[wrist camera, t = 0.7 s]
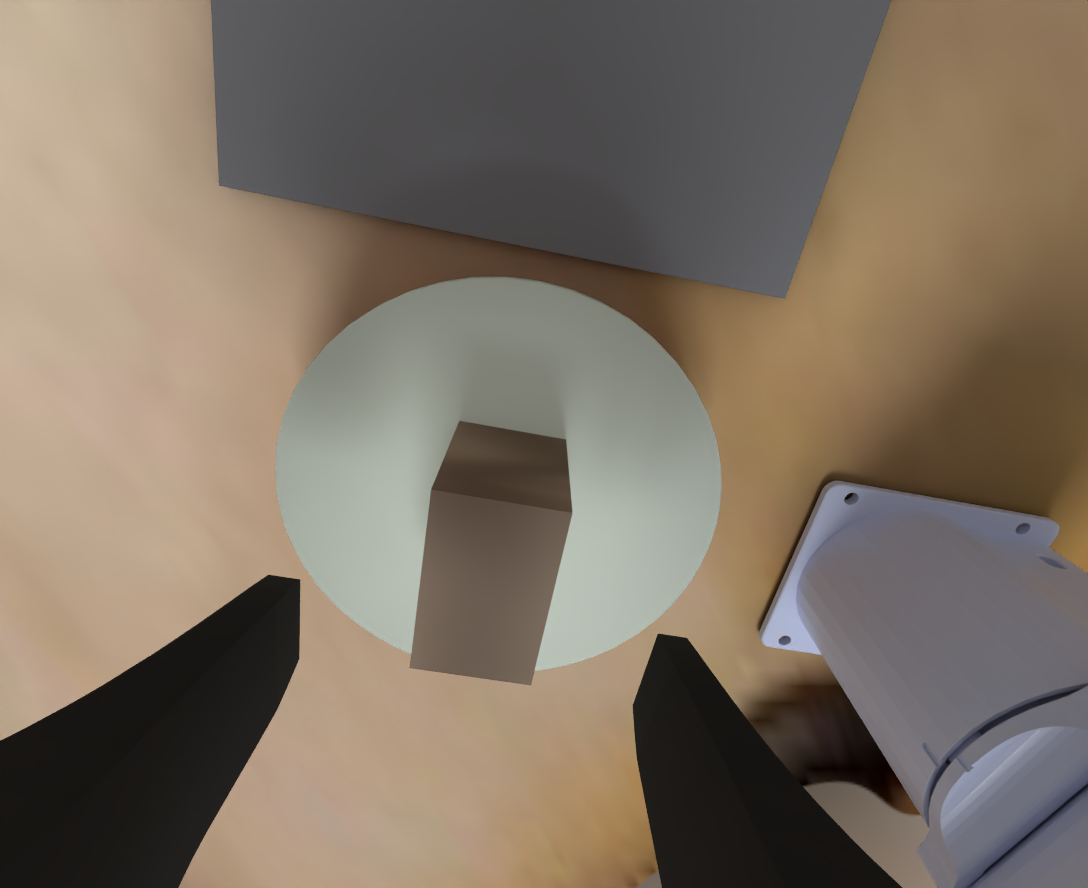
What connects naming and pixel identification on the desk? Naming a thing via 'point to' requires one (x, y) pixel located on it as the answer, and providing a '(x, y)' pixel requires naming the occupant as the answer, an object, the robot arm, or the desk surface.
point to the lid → (498, 476)
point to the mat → (553, 120)
